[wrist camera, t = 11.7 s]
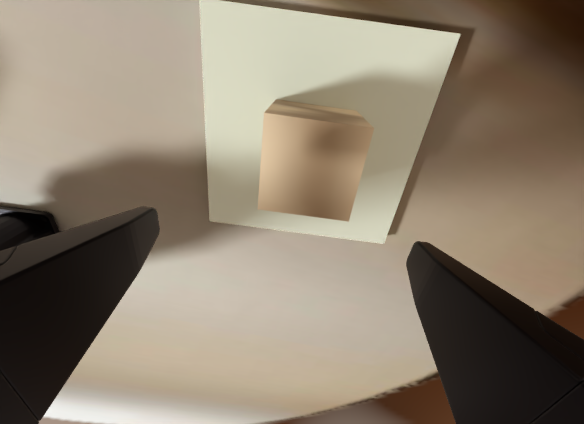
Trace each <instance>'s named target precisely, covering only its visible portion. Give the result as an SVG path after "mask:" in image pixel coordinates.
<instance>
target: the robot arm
mask: <svg viewBox="0 0 584 424" xmlns="http://www.w3.org/2000/svg"><path fill="white" fill-rule="evenodd" d="M159 230H160V228H159V221H158V215H157V211H156V209H155V208H152V207H139V208H136V209H133V210H129V211H126V212H123V213H120V214H117V215H113V216H110V217H107V218H104V219H101V220H98V221H94V222H91V223H88V224H85V225H82V226H79V227H75V228H72V229H69V230H66V231H63V232H59V230H58V228H57V225H56V223H55V220H54V218H53V216H52V215H51V214H49V213H47V212H41V211H34V210H26V209H18V208H10V207H3V206H0V424H38V423H39V421H40V420H41V419H42V417H43V416H44V414H45V413H46V411H47V410H48V408H49V407H50V405H51V404H52V402H53V401H54V399H55V398H56V396H57V395H58V393H59V392H60V390H61V389H62V387H63V386H64V384H65V383H66V381H67V380H68V378H69V377H70V375H71V374H72V372H73V371H74V369H75V368H76V366H77V365H78V363H79V362H80V360H81V359H82V357H83V356H84V354H85V353H86V351H87V350H88V348H89V347H90V345H91V344H92V342H93V341H94V339H95V338H96V336H97V335H98V333H99V332H100V330H101V329H102V327H103V326H104V324H105V323H106V321H107V320H108V318H109V317H110V315H111V314H112V312H113V311H114V309H115V308H116V306H117V305H118V303H119V302H120V300H121V299H122V297H123V296H124V294H125V293H126V291H127V290H128V288H129V287H130V285H131V284H132V282H133V281H134V279H135V278H136V276H137V274H138V273H139V271H140V270H141V268H142V266H143V264H144V262H145V260H146V258H147V256H148V254H149V252H150V250H151V249H152V247H153V245H154V243H155V241H156V239H157V237H158V235H159ZM406 266H407V271H408V275H409V280H410V284H411V289H412V293H413V298H414V302H415V305H416V308H417V312H418V315H419V317H420V320H421V323H422V326H423V329H424V332H425V335H426V338H427V341H428V344H429V346H430V349H431V352H432V355H433V358H434V361H435V364H436V367H437V370H438V373H439V375H440V378H441V381H442V384H443V387H444V390H445V393H446V396H447V399H448V402H449V404H450V407H451V410H452V413H453V416H454V419H455V422H456V424H584V340H583V339H582V338H580V337H578V336H577V335H575V334H573V333H572V332H570V331H569V330H567V329H565V328H564V327H562V326H560V325H559V324H557V323H555V322H554V321H552V320H551V319H549V318H548V317H546V316H544V315H543V314H541V313H540V312H538V311H535V310H534V309H533V308H532V307H530V306H528V305H527V304H525V303H524V302H522V301H520V300H519V299H517V298H516V297H514V296H512V295H511V294H509V293H508V292H506V291H505V290H503V289H501V288H500V287H498V286H497V285H495V284H493V283H492V282H490V281H489V280H487V279H485V278H484V277H482V276H481V275H479V274H478V273H476V272H474V271H473V270H471V269H470V268H468V267H466V266H465V265H463V264H462V263H460V262H458V261H457V260H455V259H454V258H452V257H451V256H449V255H447V254H446V253H444V252H443V251H441V250H439V249H438V248H436V247H435V246H433V245H432V244H430V243H427V242H420V241H417V242H415V243H414V245H413V247H412V249H411V251H410V254H409V256H408V258H407V262H406Z"/></svg>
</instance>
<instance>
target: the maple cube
mask: <svg viewBox="0 0 584 424" xmlns="http://www.w3.org/2000/svg"><path fill="white" fill-rule="evenodd" d="M373 131H374V127H373V126H372V125H371V124H370V123H369V122H368V121H367V120H366V119H365V118H364V117H363V116H362V115H361V114H360V113H358V112H357V111H356V110H349V109H342V108H335V107H327V106H320V105H313V104H306V103H299V102H292V101H285V100H277V99H276V100H275V101H274V102H273V103H272V104H271V105H270V107H269V108H268V109H267V110H266V111H265V112H264V119H263V134H262V150H261V165H260V180H259V195H258V210H266V211H273V212H281V213H288V214H295V215H303V216H310V217H318V218H325V219H333V220H340V221H348V222H349V219H350V215H351V212H352V208H353V204H354V201H355V197H356V193H357V190H358V186H359V182H360V179H361V175H362V171H363V168H364V164H365V160H366V157H367V153H368V149H369V146H370V142H371V138H372V135H373Z"/></svg>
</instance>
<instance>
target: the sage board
mask: <svg viewBox="0 0 584 424" xmlns="http://www.w3.org/2000/svg"><path fill="white" fill-rule="evenodd" d="M199 5H200V26H201V48H202V70H203V92H204V113H205V135H206V157H207V179H208V200H209V221H211V222H219V223H226V224H234V225H242V226H249V227H257V228H265V229H273V230H280V231H288V232H296V233H303V234H311V235H319V236H327V237H334V238H342V239H350V240H357V241H365V242H373V243H381V244H384V243H385V240H386V237H387V234H388V232H389V229H390V226H391V223H392V221H393V218H394V215H395V213H396V210H397V207H398V204H399V202H400V199H401V196H402V193H403V191H404V188H405V185H406V182H407V180H408V177H409V174H410V171H411V169H412V166H413V163H414V161H415V158H416V155H417V152H418V150H419V147H420V144H421V141H422V139H423V136H424V133H425V130H426V128H427V125H428V122H429V120H430V117H431V114H432V111H433V109H434V106H435V103H436V100H437V98H438V95H439V92H440V89H441V87H442V84H443V81H444V78H445V76H446V73H447V70H448V68H449V65H450V62H451V59H452V57H453V54H454V51H455V48H456V46H457V43H458V40H459V37H460V35H461V34H458V33H451V32H444V31H437V30H429V29H422V28H415V27H408V26H401V25H393V24H386V23H379V22H372V21H365V20H358V19H350V18H343V17H336V16H329V15H322V14H314V13H307V12H300V11H293V10H286V9H279V8H271V7H264V6H257V5H250V4H243V3H235V2H228V1H221V0H199ZM276 99H277V100H285V101H292V102H299V103H306V104H313V105H320V106H327V107H335V108H342V109H349V110H356V111H357V112H358V113H360V114H361V115H362V116H363V117H364V118H365V119H366V120H367V121H368V122H369V123H370V124H371V125H372V126H373V127H374V131H373V135H372V138H371V142H370V146H369V149H368V153H367V157H366V160H365V164H364V168H363V171H362V175H361V179H360V182H359V186H358V190H357V193H356V197H355V201H354V204H353V208H352V212H351V215H350V219H349V222H348V221H340V220H333V219H325V218H318V217H310V216H303V215H295V214H288V213H281V212H273V211H266V210H258V195H259V180H260V165H261V150H262V134H263V119H264V112H265V111H266V110H267V109H268V108H269V107H270V105H271V104H272V103H273V102H274V101H275V100H276Z"/></svg>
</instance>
